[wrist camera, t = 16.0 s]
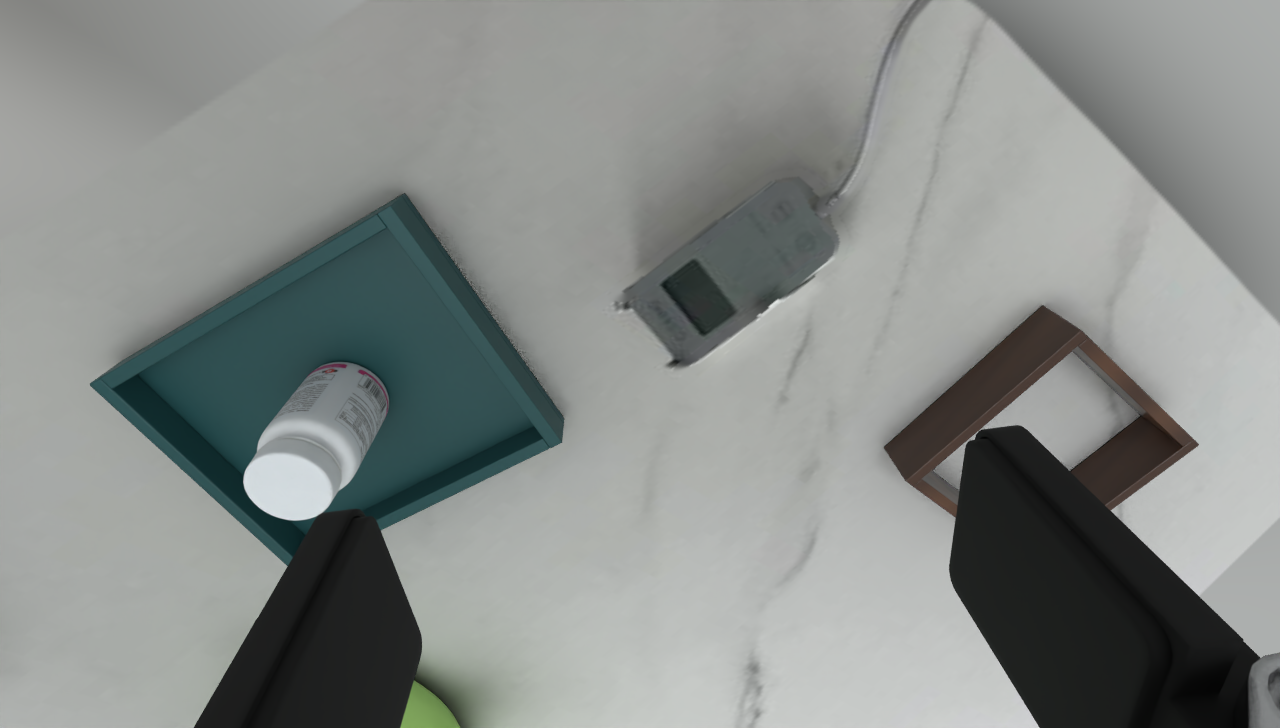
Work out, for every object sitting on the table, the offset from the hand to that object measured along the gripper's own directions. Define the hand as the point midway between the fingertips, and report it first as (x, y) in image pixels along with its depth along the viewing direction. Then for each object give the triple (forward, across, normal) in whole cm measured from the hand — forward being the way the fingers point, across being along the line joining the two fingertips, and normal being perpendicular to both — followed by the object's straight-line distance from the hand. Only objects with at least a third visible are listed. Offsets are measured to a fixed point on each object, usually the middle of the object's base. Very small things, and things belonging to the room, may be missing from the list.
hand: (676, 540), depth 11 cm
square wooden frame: (+26, -23, +19) cm, 40 cm away
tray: (+26, +18, +10) cm, 33 cm away
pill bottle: (+26, +17, +10) cm, 33 cm away
